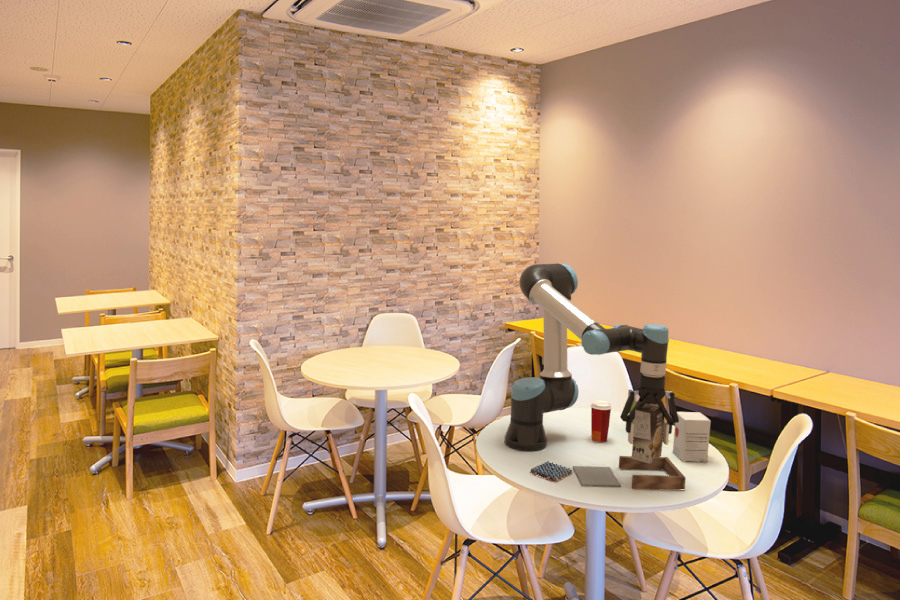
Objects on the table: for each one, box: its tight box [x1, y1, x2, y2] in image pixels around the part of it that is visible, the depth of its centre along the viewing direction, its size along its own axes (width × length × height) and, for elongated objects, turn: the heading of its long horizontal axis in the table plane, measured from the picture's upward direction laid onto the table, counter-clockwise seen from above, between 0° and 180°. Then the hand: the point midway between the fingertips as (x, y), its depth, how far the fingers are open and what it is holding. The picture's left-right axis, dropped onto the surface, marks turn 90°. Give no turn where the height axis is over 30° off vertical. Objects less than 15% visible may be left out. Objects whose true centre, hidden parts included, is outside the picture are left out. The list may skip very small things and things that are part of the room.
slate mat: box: [572, 465, 622, 488], centre depth 199 cm, size 12×14×1 cm
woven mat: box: [529, 460, 573, 484], centre depth 201 cm, size 10×11×2 cm
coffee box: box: [631, 404, 665, 464], centre depth 197 cm, size 9×6×16 cm
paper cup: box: [589, 400, 613, 443], centre depth 232 cm, size 8×8×14 cm
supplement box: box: [672, 411, 712, 463], centre depth 217 cm, size 9×9×15 cm
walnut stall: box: [618, 455, 687, 490], centre depth 199 cm, size 16×16×4 cm
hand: (647, 442), depth 198 cm, fingers closed on coffee box, 10 cm apart
